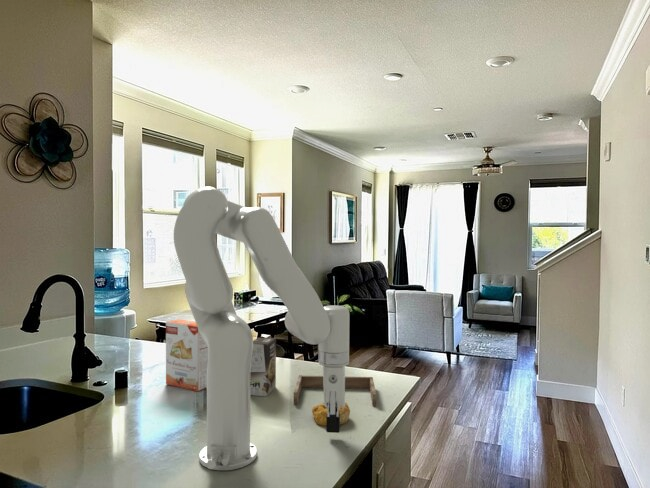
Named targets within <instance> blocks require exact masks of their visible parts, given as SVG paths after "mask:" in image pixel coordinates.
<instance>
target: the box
mask: <svg viewBox="0 0 650 488" xmlns="http://www.w3.org/2000/svg"><path fill="white" fill-rule="evenodd" d="M302 388H322V389H323V375H300V374H299V375H298V377H297V380H296V383H295V387H294V390H293V405H297V404H298V401H299V399H300V395H301V391H302ZM345 389H359V390H360V389H362V390H363V389H364V390H366V389H368V390H369V393H370V399H371V406H372V407H377V391H376V387H375V381H374V377H373V376H346V375H345Z"/></svg>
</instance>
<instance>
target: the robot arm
mask: <svg viewBox="0 0 650 488" xmlns="http://www.w3.org/2000/svg"><path fill="white" fill-rule="evenodd" d="M216 235H220V236H221V237H225V238H228V239H230V240H234V241H236V242H240V243H243V244H244V246H245V248H246V251H247V252H248V254H249V256H250V257H251V258H250V259H251V261H252V262H253V264H254V265H255V267H256V269H257V271H258V274H259V276H260V277H261V279H262V281H263V282H264V283H265V285H266V286H267V287H268V288H269V289H270V290H271V291H272V292H273V293H275V295H276V296H277V297H279V299H280V301H281V302H282V303H283V304H284V306H285V308H286V309H287V310H288V311H287V312H286V314H285V315H284V316H285V317H284V325H285V328H286V330H287V331H288V332H289V333H290V334H291V335H293V336H294V337H295V338H297V339H299V340H301V341H303V342H304V343H306V344H309V345H312V346H313V345H318V348H317V350H318V352H317V353H318V357H317V358H318V359H317V360H318V364H319V365H320V366H322V376H323V388H322V389H323V391H322V392H323V403H324V406H325V407H326V408H327V417H326V428H325V430H326V433H329V434H330V433H333V434H334V433H336V434H338V433H340V430H341V429H340V425H341V424H340V414H339V407H342V408H344V407H345V403H346V402H345V401H346V388H345V376H346V366H348V365H349V364H350V310H349V309H348V308H347V307H346V306H343V305H335V304H334V305H323V303H322V301H321V299H320V296H319V295H318V293H317V292H316V290H315V289H314V287H313V285H312V284H311V282H310V281H309V279H307V277H306V276H305V274H304V273H303V271H302V269H300V267H299V266H298V264H297V262H296V261H295V259H294V257H293V255H292V253H291V251H290V249H289V248H288V245H287V243H286V241H285V239H284V237H283V235H282V232H281V231H280V228H279V226H278V224H277V223H276V221H275V219H274V217H273V215H272V214H271V212H270V211H268V209H266V208H263V207H260V206H252V207H247V206H243V205H241V204H238V203H234V202H232V201H230V200H228V199H227V197H226V196H225V193H223V192H222V191H221V190H220V189H218V188H216V187H213V186H204V187H201V188H198V189H196V190H195V191H193V192H191V193H190V194H188V195H187V196H186V198H185V200H184V201H183V205H182V207H181V209H180V210H179V212H178V214H177V216H176V219H175V223H174V228H173V243H174V248H175V252H176V255H177V259H178V261H179V264H180V267H181V272H182V274H183V276H184V279H185V283H184V294H185V297H186V301H187V303H188V305H189V308H190V311H191V313H192V316H193V319H194V321H195V322H196V324H197V326H198V329H199V331H200V334H201V336H202V338H203V340H204V342H205V343H206V345H207V346H208V364H207V388H206V445H205V447H203V448H202V449H201V450H200V452H199V454H198V455H199V458H198V460H199V463H200V464H201V465H202V466H203V467H205V468H208V469H209V470H214V471H233V470H238V469H241V468H242V469H243V468H244V467H246V466H249V465H250V464H251V463H253V462H254V461H255V460H256V458H257V456H258V449H257V446H256V445H255V444H254V443H251V395H250V372H251V359H252V351H253V341H254V337H253V336H254V335H253V333H252V329H251V328H250V326H249V324H248V323H247V322H246V321H245V320H244V319H243V318H242V317H240V316H239V315H237V312H236V310H235V307H234V304H233V302H232V301H233V299H234V288H233V285H232V282H231V280H230V277H229V275H228V273H227V271H226V268H225V267H226V266H225V265H224V261H223V260H222V258H221V255H220V250H219V248H218V244H217V237H216Z"/></svg>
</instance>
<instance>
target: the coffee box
mask: <svg viewBox="0 0 650 488" xmlns="http://www.w3.org/2000/svg"><path fill="white" fill-rule="evenodd" d="M276 371H277V338H275V337H256V338H255V339H253V351H252V359H251V372H250V396H257V397H258V396H259V397H268V396H269V395H270V394H271V393H272V392H273V391H274V389H276V385H277V383H276V381H277V378H276V377H277V372H276Z"/></svg>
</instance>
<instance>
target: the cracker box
mask: <svg viewBox="0 0 650 488" xmlns="http://www.w3.org/2000/svg"><path fill="white" fill-rule="evenodd" d="M207 364H208V346H207V345H206V343H205V342H204V340H203V338H202V336H201V334H200V331H199V329H198V326H197V324H196V321H195V320H194V321H193V320H189V319H188V320H186V319H180V318H177V319H173V320H168V321H165V384H166V385H168V386H172V387H177V388H181V389H186V390H189V391H193V392H201V391H202V390H205V389H207Z"/></svg>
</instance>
